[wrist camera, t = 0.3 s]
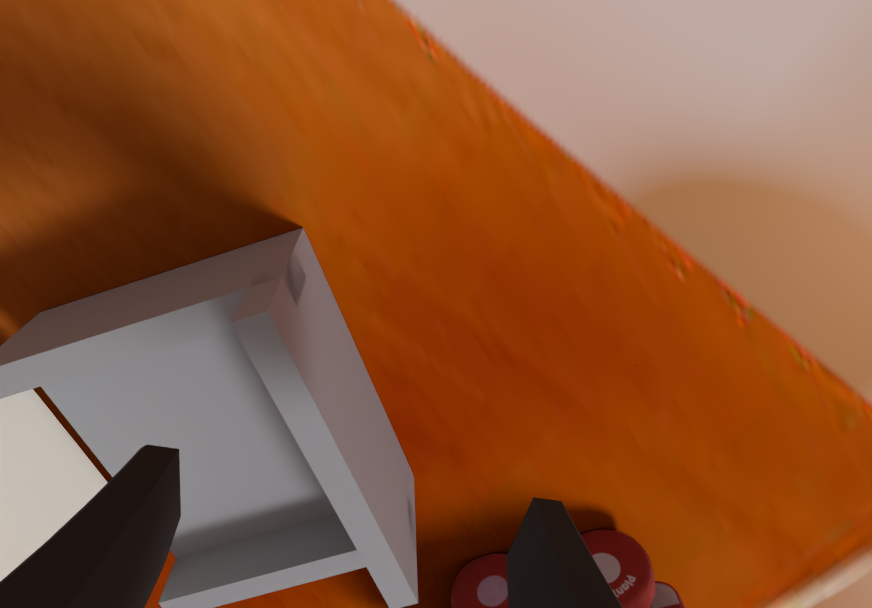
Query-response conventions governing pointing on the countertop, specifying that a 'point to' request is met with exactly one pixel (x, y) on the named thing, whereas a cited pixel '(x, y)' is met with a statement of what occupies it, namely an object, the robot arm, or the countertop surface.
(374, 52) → the countertop surface
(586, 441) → the countertop surface
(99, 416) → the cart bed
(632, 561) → the toy fire truck
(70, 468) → the panel
